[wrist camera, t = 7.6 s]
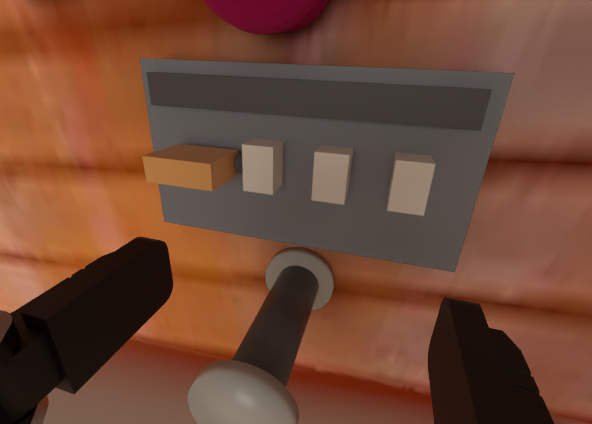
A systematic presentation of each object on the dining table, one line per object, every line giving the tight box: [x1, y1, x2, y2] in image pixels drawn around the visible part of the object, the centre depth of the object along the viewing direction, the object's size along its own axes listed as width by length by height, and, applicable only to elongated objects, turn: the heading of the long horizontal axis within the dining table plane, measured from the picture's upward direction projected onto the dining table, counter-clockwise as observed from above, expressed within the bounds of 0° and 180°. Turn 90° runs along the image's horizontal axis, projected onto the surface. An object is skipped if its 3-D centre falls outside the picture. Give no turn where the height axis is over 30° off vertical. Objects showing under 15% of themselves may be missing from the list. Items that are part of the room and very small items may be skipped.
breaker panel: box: [140, 58, 514, 272], centre depth 21 cm, size 22×12×5 cm, turn 87°
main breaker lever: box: [142, 144, 243, 191], centre depth 20 cm, size 5×2×4 cm, turn 87°
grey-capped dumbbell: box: [188, 247, 335, 424], centre depth 22 cm, size 6×6×13 cm
